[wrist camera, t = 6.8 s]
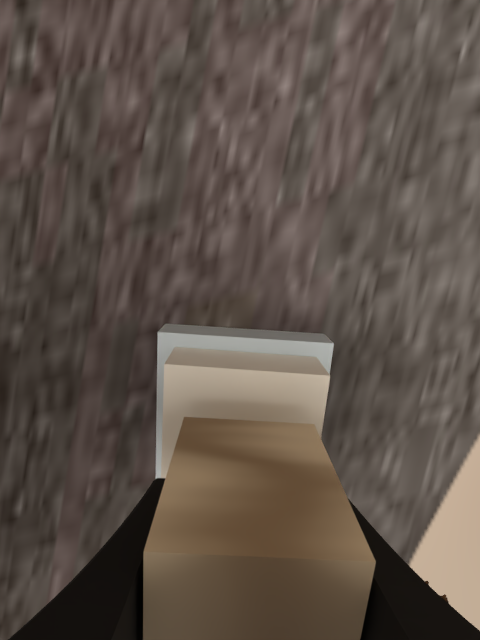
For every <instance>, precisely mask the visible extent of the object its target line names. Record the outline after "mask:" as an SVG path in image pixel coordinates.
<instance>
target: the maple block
mask: <svg viewBox="0 0 480 640" xmlns="http://www.w3.org/2000/svg"><path fill="white" fill-rule="evenodd" d="M375 564H376V561H375V559H374V556H373V554H372V552H371V550H370V547H369V545H368V543H367V541H366V539H365V536H364V534H363V532H362V530H361V527H360V525H359V523H358V521H357V519H356V516H355V514H354V512H353V510H352V507H351V505H350V503H349V501H348V498H347V496H346V494H345V492H344V490H343V487H342V485H341V483H340V481H339V478H338V476H337V474H336V472H335V469H334V467H333V465H332V463H331V461H330V458H329V456H328V454H327V452H326V449H325V447H324V445H323V443H322V441H321V438H320V436H319V434H318V432H317V429H316V427H315V425H314V424H304V423H286V422H268V421H251V420H233V419H215V418H197V417H184V419H183V422H182V425H181V429H180V432H179V435H178V439H177V442H176V445H175V449H174V452H173V455H172V459H171V462H170V465H169V469H168V472H167V475H166V479H165V482H164V485H163V489H162V492H161V495H160V499H159V502H158V505H157V509H156V512H155V515H154V519H153V522H152V525H151V529H150V532H149V535H148V538H147V542H146V545H145V548H144V553H143V640H360V638H361V633H362V628H363V623H364V618H365V613H366V608H367V603H368V599H369V594H370V589H371V584H372V579H373V574H374V569H375Z"/></svg>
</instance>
